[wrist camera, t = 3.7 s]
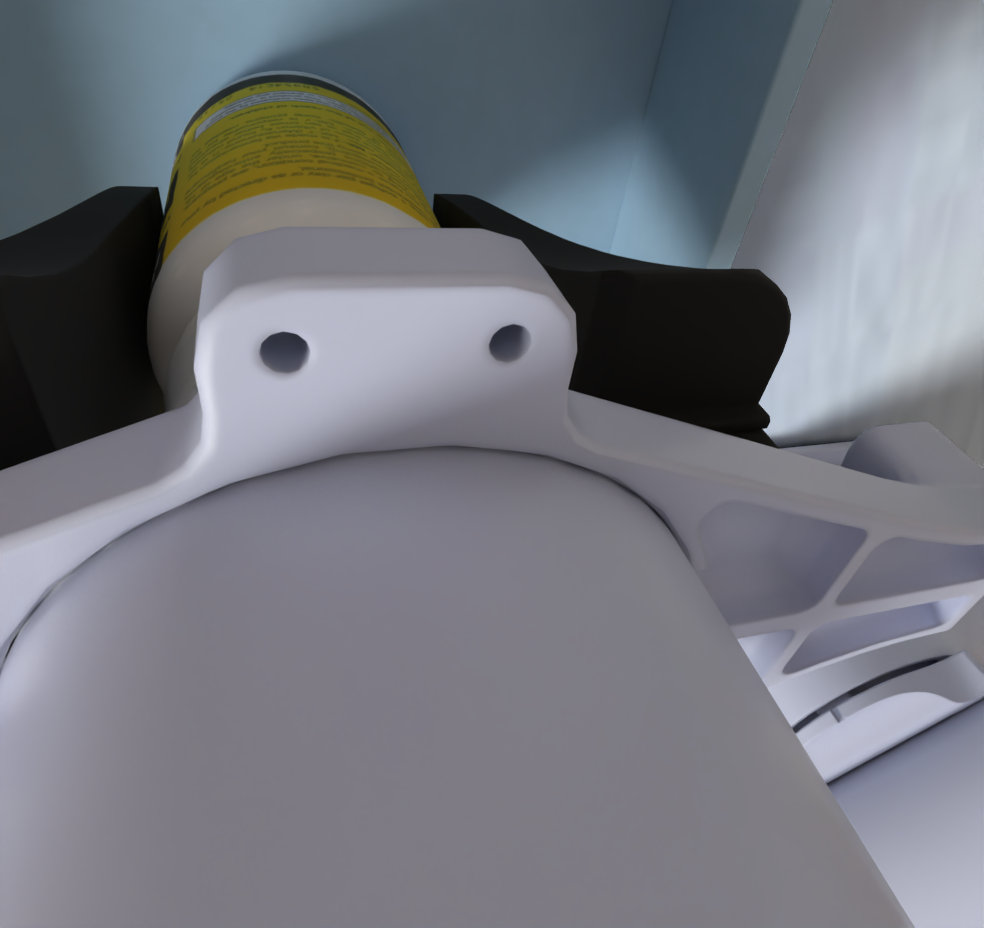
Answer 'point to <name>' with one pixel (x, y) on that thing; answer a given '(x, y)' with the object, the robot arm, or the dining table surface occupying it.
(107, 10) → the tub
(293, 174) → the supplement bottle
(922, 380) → the dining table surface
